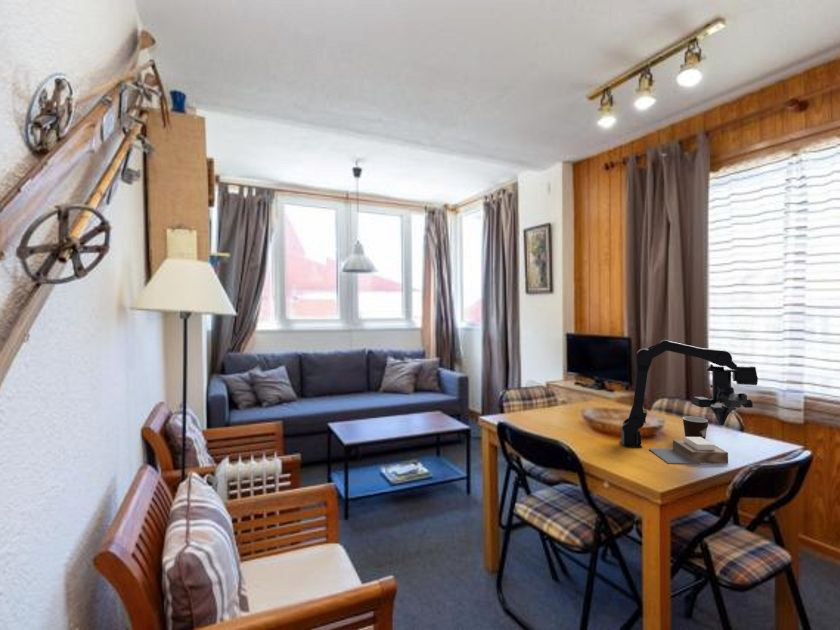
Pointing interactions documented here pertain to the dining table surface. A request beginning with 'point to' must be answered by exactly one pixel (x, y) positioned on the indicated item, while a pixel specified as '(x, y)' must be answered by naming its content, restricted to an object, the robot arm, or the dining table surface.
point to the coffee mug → (695, 427)
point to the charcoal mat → (672, 456)
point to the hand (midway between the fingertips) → (721, 425)
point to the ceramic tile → (699, 443)
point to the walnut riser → (701, 453)
